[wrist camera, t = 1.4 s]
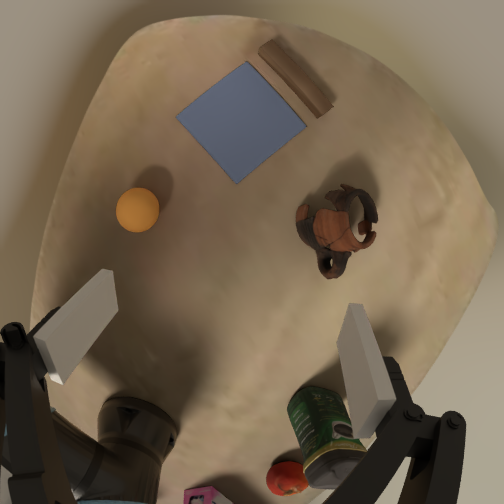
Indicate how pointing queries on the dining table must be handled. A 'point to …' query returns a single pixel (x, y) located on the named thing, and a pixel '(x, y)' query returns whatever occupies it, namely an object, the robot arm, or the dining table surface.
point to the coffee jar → (324, 437)
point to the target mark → (241, 121)
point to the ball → (137, 209)
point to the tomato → (286, 478)
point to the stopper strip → (295, 78)
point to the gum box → (204, 496)
